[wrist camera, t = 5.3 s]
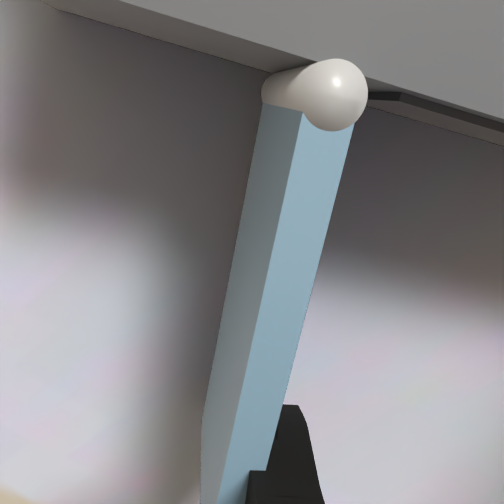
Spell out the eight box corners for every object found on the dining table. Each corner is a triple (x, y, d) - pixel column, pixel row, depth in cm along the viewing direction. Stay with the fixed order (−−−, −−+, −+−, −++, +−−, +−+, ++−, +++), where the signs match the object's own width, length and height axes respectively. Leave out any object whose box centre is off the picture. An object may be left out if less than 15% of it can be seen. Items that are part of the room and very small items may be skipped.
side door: (229, 424, 14) (240, 584, 10) (198, 421, 14) (194, 583, 10) (304, 76, 11) (376, 66, 7) (265, 67, 11) (309, 51, 6)
